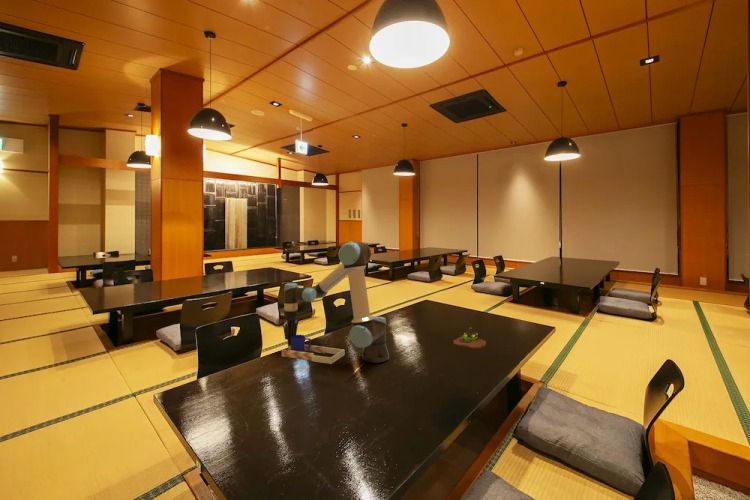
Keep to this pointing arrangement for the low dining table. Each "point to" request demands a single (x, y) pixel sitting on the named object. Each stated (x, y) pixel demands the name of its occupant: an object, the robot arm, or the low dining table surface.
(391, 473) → the low dining table surface
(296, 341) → the mug
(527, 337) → the low dining table surface
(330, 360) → the tray
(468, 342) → the plant
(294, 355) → the wooden serving tray
